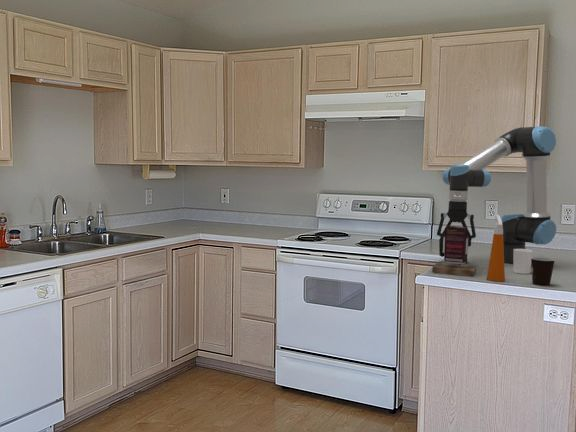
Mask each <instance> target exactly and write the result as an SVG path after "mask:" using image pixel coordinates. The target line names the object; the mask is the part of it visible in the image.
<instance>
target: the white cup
mask: <svg viewBox="0 0 576 432" xmlns="http://www.w3.org/2000/svg"><path fill="white" fill-rule="evenodd" d="M533 253H534V252H533V250H532V249H527V248H526V249H513V263H512V264H513V273H516V274H521V275H529V274H531V270H532V265H531V258H533Z"/></svg>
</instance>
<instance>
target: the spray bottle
mask: <svg viewBox="0 0 576 432" xmlns="http://www.w3.org/2000/svg"><path fill="white" fill-rule="evenodd" d="M505 274H506V272H505V262H504V245H503V225H502V217H500V214H495V226H494V229H493V237H492V243H491V250H490V258H489V261H488V267H487V274H486V280H488V281H490V282H491V281H492V282H497V281H499V282H500V281H501V282H505V281H506V275H505Z"/></svg>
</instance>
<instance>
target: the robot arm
mask: <svg viewBox="0 0 576 432" xmlns="http://www.w3.org/2000/svg"><path fill="white" fill-rule="evenodd" d="M556 145H557V139H556V135H555V133H554V131H553V130H552V129H551V128H550V127H548V126H540V125H539V126H526V127H525V126H524V127H523V126H521V127H516V128H513V129H511V130H509V131H507V132H505V133H504V134H502V135H500V136H499V137H497V138H496V139H495V140H494V141H493V143H492V144H490V145H489V146H487V147H485V148H484V149H482V150H481V151H479V152H478V153H477V154H474V155H473V156H472V157H470V158H468V159H467V160H465V161H464V162H462V163H461V164H452V165H450V166H451V167H450V168H447V169H445V170H444V171H443V173H442V181H443V183H444V184H445V185H448V186H449V190H448V191H449V192H448V193H449V194H448V200H449V201H448V211H447V212H441V213H440V221H439V224H438V228H437V231H436V236H439V238H440V237H441V244H442V245H443V253H444V252H445V237H444V236H445V228H446V226H448V227H449V226H452V224H453V223H461V226H462V227H466V234H467V237H468V239H466V253H465V254H467V255H468V254H469V247H471V246H472V240H473V239H475V238H476V237H477V233H476V228H475V221H474V219H475V215H474V214H469V213H468V210H467V209H468V208H467V207H468V202H467V200H468V196H469V195H468V194H469V193H468V190H469V188H486V187H488V186H489V185H490V183H491V181H492V180H491V179H492V177H491V176H492V175H491V172H489V171H488V170H486V168H487V167H489V166H490V165H492V164H494V163H496V161H498V160H499V159H501V158H503V157H509V156H510V155H512V154H516V153H522V158H523V159H524V160H525V161H526V162H525V163H526V164H525V165H526V212H525V213H523V214H521V213H519V214H518V213H517V214H505V215H504V214H503V215H502V217H501V220H502V225H503V245H504V264H513V249H527V248H526V243H530V244H535V245H547V244H550V243H551V242H552V241H553V239H554V238H555V236H556V233H557V225H556V223H555V221H554V220H552V219H551V214H550V213H549V212H548V207H547V206H548V199H547V198H548V197H547V196H548V193H547V191H548V190H547V189H548V187H547V185H548V184H547V182H548V180H547V174H548V173H547V169H548V167H547V160H548V159H549V157H551V152H553V151H554V149H555V148H556ZM446 217H448V218H449V220H448V222H447V224H446V226H445V227H444V226H443V225H444V221H445V218H446ZM466 218H468V220H469V224H470V230H471V233H470V231H469V229H468V226H467V224H466V221H465V220H466ZM443 227H444V230H443V231H442V229H443Z"/></svg>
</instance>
